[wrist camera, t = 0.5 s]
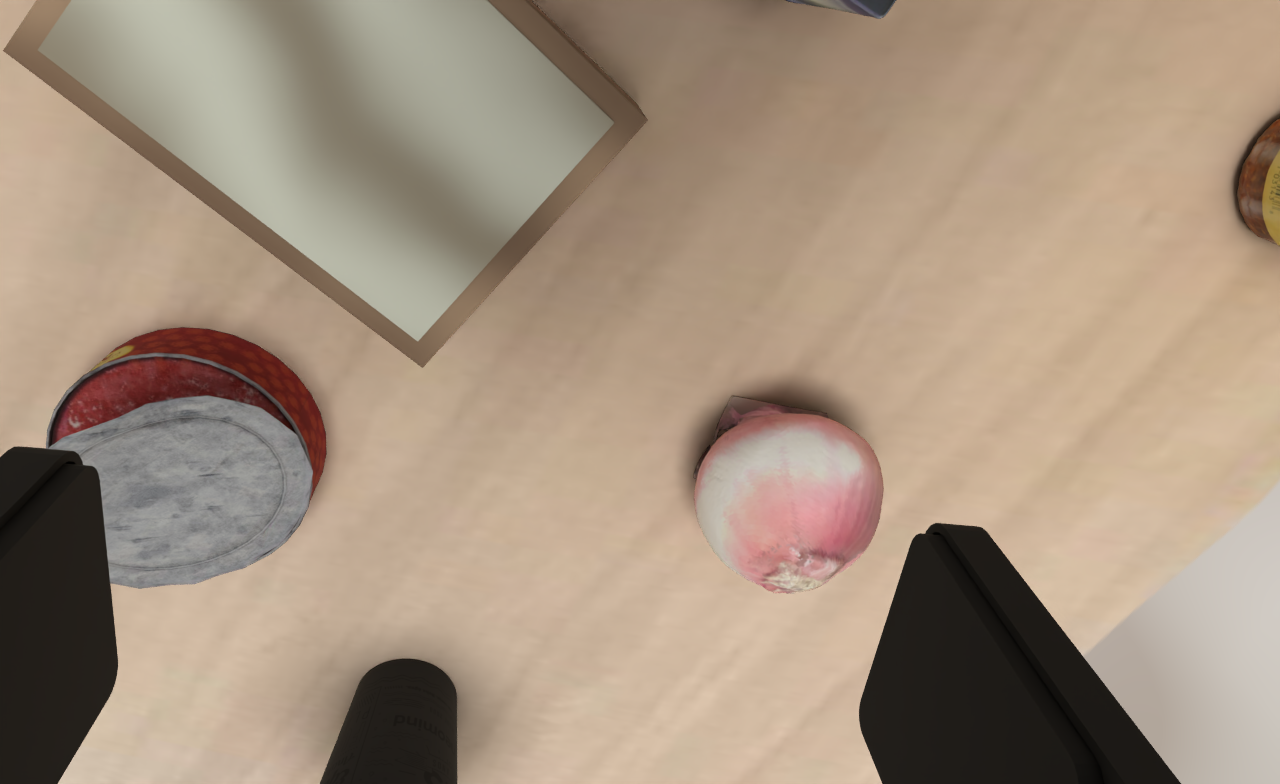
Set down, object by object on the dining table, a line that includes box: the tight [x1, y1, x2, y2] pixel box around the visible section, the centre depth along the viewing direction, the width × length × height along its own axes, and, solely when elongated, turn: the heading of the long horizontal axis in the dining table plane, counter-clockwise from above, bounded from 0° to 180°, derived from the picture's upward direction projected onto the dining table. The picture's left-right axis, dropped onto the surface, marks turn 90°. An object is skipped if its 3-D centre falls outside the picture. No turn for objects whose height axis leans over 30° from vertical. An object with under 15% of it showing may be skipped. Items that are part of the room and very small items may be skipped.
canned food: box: [46, 327, 326, 589], centre depth 36 cm, size 11×10×10 cm
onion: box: [693, 396, 884, 593], centre depth 38 cm, size 8×8×7 cm
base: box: [3, 0, 648, 368], centre depth 31 cm, size 12×16×4 cm
